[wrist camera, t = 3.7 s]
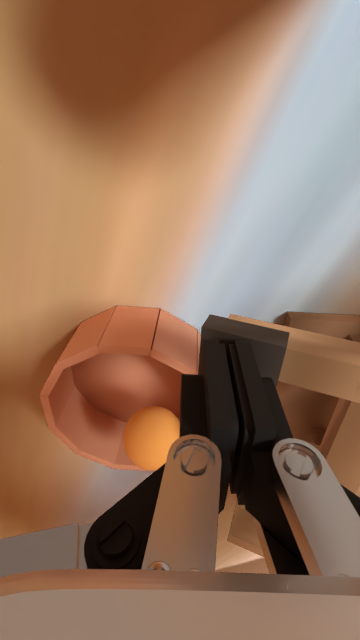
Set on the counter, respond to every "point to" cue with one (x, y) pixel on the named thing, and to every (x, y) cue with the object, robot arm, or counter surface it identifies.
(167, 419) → the ball
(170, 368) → the cup
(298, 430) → the lever stand
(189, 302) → the counter surface
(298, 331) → the tipping lever
